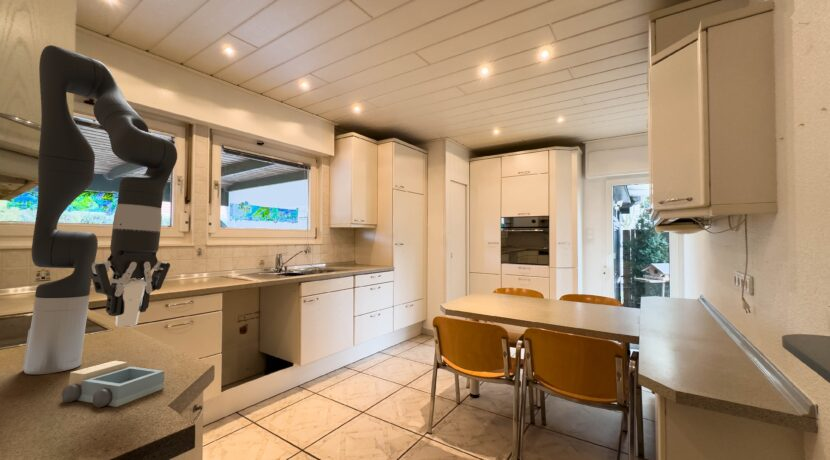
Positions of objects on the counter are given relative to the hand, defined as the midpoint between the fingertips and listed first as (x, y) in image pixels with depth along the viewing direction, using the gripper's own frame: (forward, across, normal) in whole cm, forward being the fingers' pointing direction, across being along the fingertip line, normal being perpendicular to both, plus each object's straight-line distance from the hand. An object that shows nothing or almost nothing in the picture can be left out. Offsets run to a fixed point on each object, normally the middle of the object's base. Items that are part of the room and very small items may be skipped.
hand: (127, 313), depth 66 cm
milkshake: (+2, 0, 0) cm, 2 cm away
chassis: (+17, +1, +3) cm, 17 cm away
